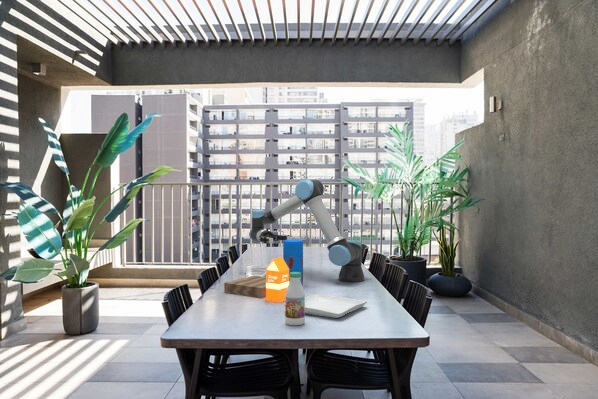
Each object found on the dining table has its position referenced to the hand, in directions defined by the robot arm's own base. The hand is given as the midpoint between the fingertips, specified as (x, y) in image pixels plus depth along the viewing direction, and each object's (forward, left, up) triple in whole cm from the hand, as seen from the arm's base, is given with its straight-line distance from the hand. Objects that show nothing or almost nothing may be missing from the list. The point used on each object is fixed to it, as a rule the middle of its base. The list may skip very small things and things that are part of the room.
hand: (283, 240), depth 266 cm
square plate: (-49, +38, -25) cm, 67 cm away
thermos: (-9, +4, -25) cm, 27 cm away
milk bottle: (-49, +63, -25) cm, 84 cm away
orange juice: (-20, +34, -25) cm, 47 cm away
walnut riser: (0, +24, -24) cm, 34 cm away
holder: (+30, -12, -25) cm, 41 cm away
